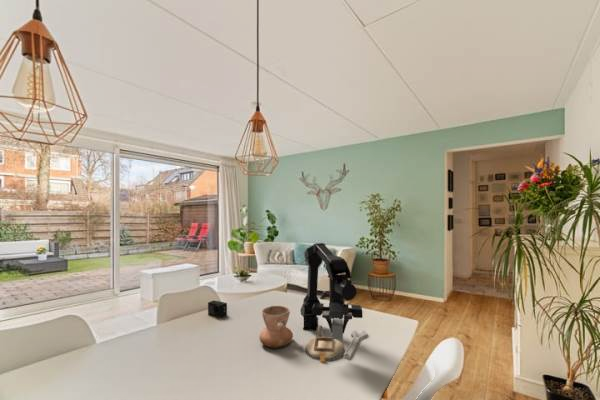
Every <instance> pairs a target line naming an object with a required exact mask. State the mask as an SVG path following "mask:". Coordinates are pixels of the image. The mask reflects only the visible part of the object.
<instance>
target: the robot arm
mask: <svg viewBox="0 0 600 400" xmlns="http://www.w3.org/2000/svg"><path fill="white" fill-rule="evenodd" d="M303 255H304V259H305V262H306V264H307V269H308V270H307V271H308V272H307V291H306V292H307V293H306V295H305V297H304V298H303V302H302V303H303V304H302V305H301V308H300V315H301V316H302V317H303V327H302V330H304V331H318V325H319V317H321V318H322V319H323V318H324V319H325V320H326V322H327V324H328V327H329V329H330V333H331V334H332V320H333V319H343V335H344V334H345V330H346V328H347V324H348V322H349V320H352V319H353V318H356V319H362V318H363V307H362V306H361V305H359V304H351V307H349V304H347V303H345V300H346V301H351V300H354V299H355V297H356V296H357V291H358V290H357V288H356V286H355V285H354V284H352V280H351V279H352V272H351V270H350V267H349V265H348V263H347V261H346V259H345V258H343V257H342V256H338V255H335V254H334V253H333V252H332V251H331V250H330V249H329V248H328V247H327V246H326V243H323V242H319V243H318V242H317V243H313V244H312V245H311V246H310V247H309V246H308V248H307V249H305V251H304V254H303ZM323 262H324V263H325V270H326V273H327V274H328V275H327V277H328V281H329V282H328V283H329V289H328V290H329V303H328V306H324V303H323V302H321V301H320V299H319V298H318V282H319V281H318V280H319V278H318V277H319V268H320V267H321V264H323Z"/></svg>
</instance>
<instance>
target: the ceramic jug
mask: <svg viewBox="0 0 600 400" xmlns="http://www.w3.org/2000/svg"><path fill="white" fill-rule="evenodd" d="M290 313H291V309H290V308H288V307H286V306H282V305H270V306H267V307H264V308H263V309H262V312H261V315H262V319H263V322H264V325H265V326H266V327H265V328H264V329H262V331H260V333H259V342H260V343H261V344H262V345H263V346H265V347H269V348H281V347H284V346H287V345H288V344H290V343H291V341H292V340H293V338H294V335H293V331H292V330H291V329H290V328H289V327H287V323H288V321H289V317H290Z"/></svg>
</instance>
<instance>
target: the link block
mask: <svg viewBox="0 0 600 400" xmlns="http://www.w3.org/2000/svg"><path fill="white" fill-rule="evenodd" d="M331 320H332V333H331V338H332V339H337V340H339V341H341V340H342V341H343V339H344V334H343V321H344V318H343V319H337V318H334V319H331Z"/></svg>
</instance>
